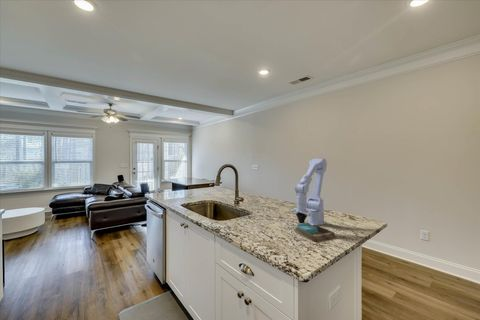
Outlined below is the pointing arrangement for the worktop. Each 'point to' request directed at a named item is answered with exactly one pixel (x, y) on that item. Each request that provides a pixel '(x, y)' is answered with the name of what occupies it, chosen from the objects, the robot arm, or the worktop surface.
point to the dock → (326, 235)
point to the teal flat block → (307, 228)
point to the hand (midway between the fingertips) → (301, 225)
